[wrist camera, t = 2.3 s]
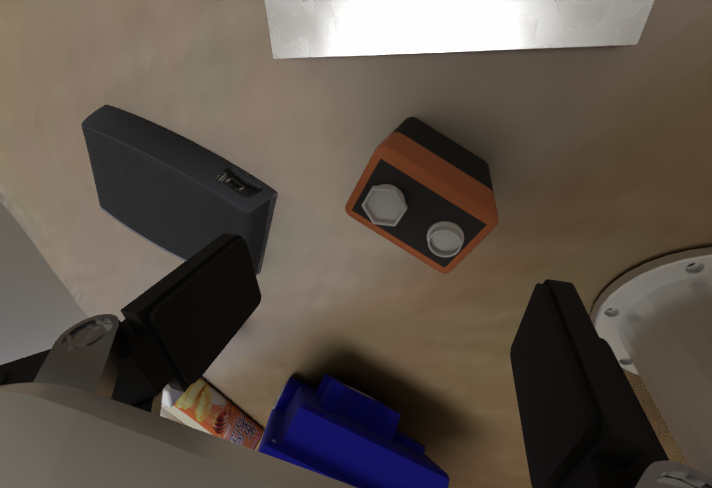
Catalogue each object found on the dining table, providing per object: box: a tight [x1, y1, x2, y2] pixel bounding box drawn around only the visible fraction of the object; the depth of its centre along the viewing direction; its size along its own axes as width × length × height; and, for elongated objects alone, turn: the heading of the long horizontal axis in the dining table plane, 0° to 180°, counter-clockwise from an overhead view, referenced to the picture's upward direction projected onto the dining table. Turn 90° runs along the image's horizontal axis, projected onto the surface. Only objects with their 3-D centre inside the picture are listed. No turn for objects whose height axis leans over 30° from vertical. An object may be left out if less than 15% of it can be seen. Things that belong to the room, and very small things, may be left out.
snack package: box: [161, 377, 263, 450], centre depth 55 cm, size 21×7×7 cm, turn 42°
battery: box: [345, 117, 498, 273], centre depth 18 cm, size 4×7×10 cm, turn 64°
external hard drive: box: [82, 105, 277, 275], centre depth 30 cm, size 13×19×4 cm
